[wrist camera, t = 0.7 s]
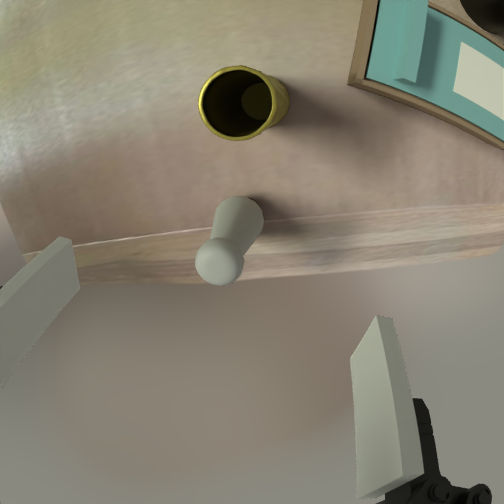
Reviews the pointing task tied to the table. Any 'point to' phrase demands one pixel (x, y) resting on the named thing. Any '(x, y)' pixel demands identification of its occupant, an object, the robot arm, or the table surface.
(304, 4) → the table surface
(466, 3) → the water bottle
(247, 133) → the vase
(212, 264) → the salt shaker
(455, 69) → the lid
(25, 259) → the table surface
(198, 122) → the table surface
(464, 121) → the wooden sliding-lid box
